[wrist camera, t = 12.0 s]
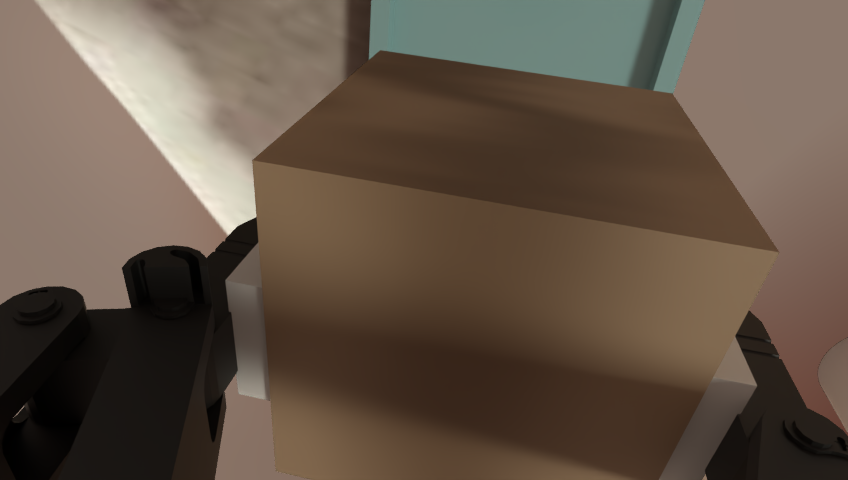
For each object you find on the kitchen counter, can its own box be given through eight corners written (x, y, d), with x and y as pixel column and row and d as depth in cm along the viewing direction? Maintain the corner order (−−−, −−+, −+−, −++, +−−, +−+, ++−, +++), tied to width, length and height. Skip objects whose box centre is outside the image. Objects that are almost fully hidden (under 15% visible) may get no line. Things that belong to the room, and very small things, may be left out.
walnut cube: (368, 278, 17) (275, 471, 11) (380, 50, 14) (252, 160, 8) (593, 322, 16) (619, 552, 11) (671, 93, 13) (779, 251, 7)
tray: (373, 122, 41) (365, 133, 39) (386, -124, 33) (376, -126, 31) (639, 165, 39) (644, 178, 37) (722, -87, 31) (734, -87, 29)
